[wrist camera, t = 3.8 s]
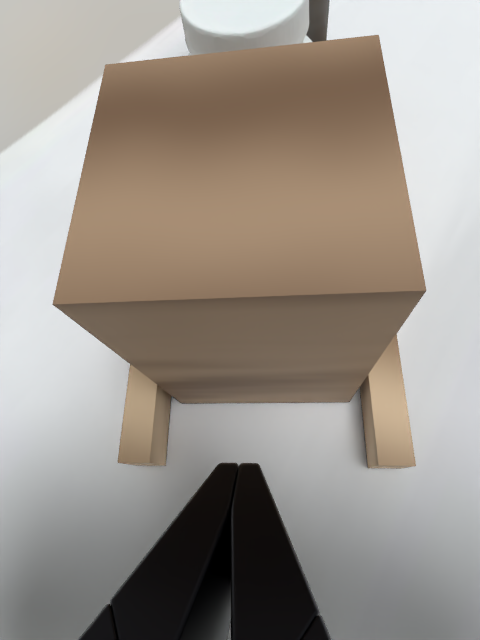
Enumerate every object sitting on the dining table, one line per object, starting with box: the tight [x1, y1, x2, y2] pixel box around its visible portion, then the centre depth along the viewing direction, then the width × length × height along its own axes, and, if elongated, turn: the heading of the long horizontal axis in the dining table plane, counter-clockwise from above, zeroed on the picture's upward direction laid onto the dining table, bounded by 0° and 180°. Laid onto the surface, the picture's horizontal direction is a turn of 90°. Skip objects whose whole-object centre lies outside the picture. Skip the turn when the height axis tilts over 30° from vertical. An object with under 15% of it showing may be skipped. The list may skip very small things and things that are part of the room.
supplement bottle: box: [180, 0, 312, 56], centre depth 16 cm, size 5×5×10 cm
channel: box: [118, 0, 416, 468], centre depth 15 cm, size 23×10×11 cm, turn 179°
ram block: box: [53, 35, 426, 403], centre depth 13 cm, size 7×7×10 cm
